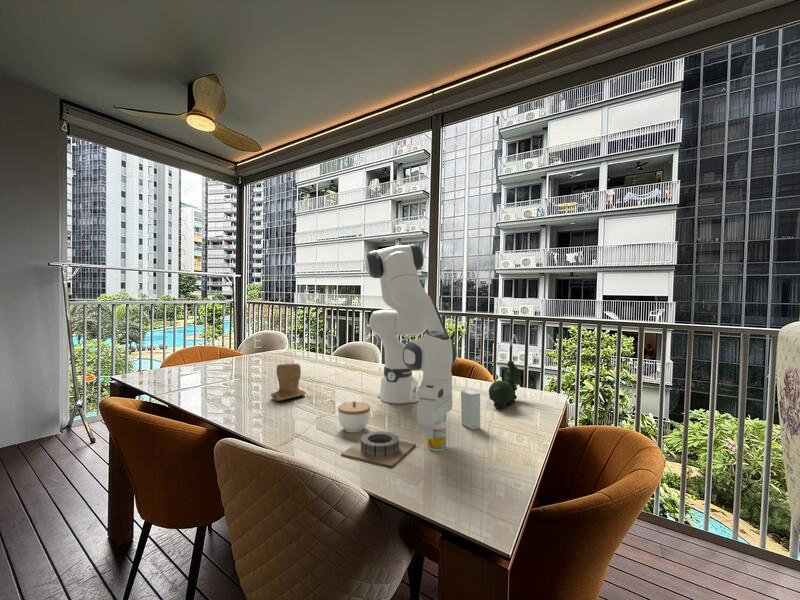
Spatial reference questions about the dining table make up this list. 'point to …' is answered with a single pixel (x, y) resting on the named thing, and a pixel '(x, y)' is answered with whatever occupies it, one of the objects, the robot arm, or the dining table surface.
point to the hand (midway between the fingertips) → (436, 432)
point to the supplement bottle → (438, 436)
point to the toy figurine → (504, 389)
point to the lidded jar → (354, 416)
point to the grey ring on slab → (379, 449)
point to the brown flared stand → (288, 382)
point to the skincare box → (470, 409)
